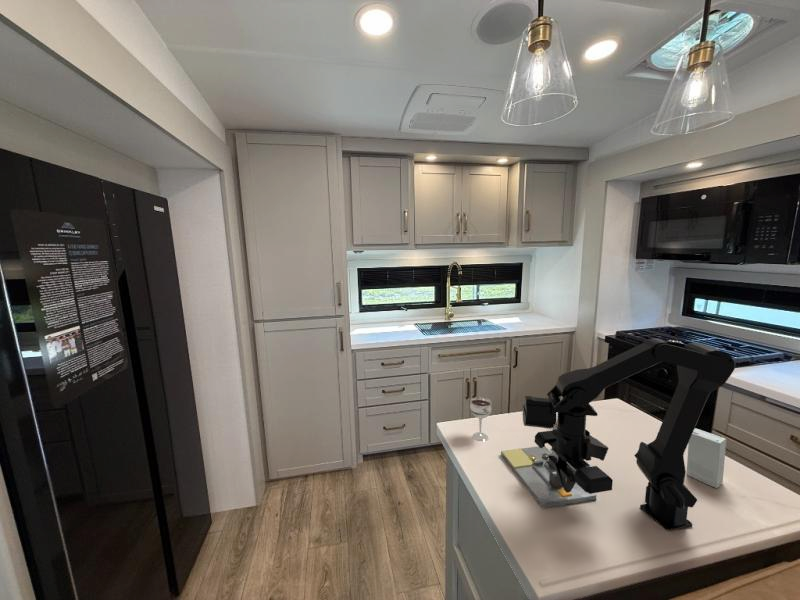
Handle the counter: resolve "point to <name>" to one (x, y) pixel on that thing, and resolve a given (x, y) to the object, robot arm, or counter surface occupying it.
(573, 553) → the counter surface
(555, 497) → the breaker panel
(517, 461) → the pad
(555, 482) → the toggle
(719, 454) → the skincare box
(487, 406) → the wineglass
